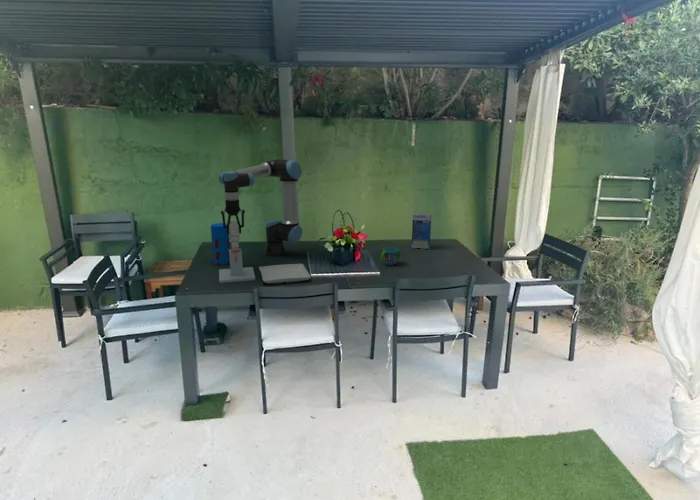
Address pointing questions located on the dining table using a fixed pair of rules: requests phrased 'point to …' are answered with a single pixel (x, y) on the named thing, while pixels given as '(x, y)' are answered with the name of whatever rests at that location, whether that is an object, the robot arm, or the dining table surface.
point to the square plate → (284, 273)
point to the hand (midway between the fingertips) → (234, 239)
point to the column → (234, 236)
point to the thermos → (220, 244)
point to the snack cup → (390, 255)
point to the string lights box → (421, 230)
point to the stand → (236, 269)
